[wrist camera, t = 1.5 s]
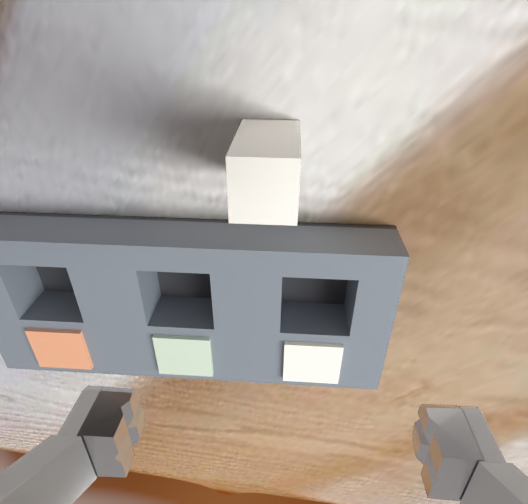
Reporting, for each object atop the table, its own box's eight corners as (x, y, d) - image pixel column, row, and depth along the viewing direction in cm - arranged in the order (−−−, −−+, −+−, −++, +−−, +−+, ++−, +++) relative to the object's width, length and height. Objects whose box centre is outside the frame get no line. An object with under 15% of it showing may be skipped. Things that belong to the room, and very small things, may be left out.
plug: (242, 118, 28) (225, 156, 21) (299, 120, 27) (301, 158, 21) (243, 173, 30) (228, 223, 23) (296, 174, 30) (297, 225, 23)
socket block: (-17, 211, 33) (-61, 240, 29) (395, 225, 31) (411, 260, 27) (34, 333, 41) (5, 371, 36) (369, 351, 39) (378, 393, 35)
